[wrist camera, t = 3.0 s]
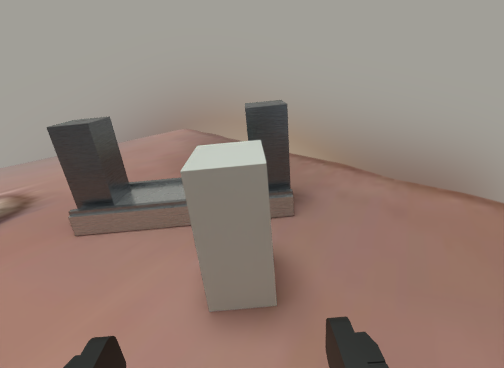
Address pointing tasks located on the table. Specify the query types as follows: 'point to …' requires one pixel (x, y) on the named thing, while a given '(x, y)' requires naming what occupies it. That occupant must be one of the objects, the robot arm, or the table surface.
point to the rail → (155, 191)
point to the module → (231, 224)
